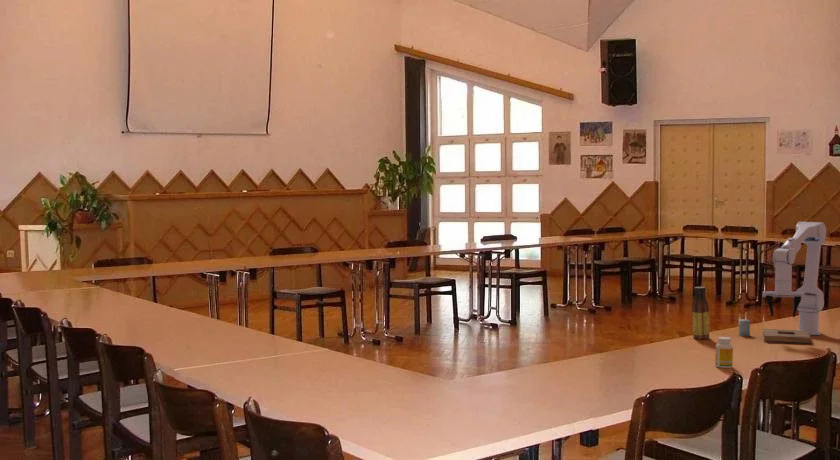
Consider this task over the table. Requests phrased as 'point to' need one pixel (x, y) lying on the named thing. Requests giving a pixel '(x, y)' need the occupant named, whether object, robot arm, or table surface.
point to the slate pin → (744, 327)
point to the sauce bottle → (700, 315)
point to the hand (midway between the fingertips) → (782, 316)
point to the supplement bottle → (724, 353)
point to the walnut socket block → (786, 336)
